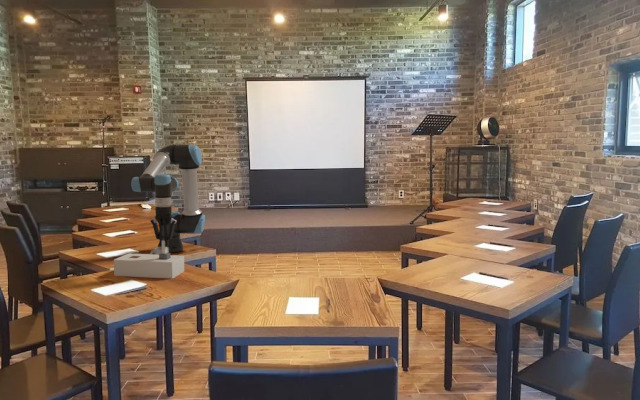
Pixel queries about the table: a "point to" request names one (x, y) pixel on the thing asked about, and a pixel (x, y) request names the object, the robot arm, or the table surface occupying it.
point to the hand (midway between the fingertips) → (164, 253)
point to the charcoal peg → (164, 256)
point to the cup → (158, 250)
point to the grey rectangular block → (148, 266)
